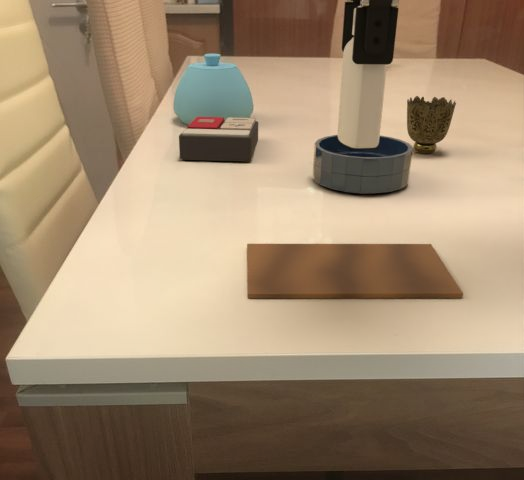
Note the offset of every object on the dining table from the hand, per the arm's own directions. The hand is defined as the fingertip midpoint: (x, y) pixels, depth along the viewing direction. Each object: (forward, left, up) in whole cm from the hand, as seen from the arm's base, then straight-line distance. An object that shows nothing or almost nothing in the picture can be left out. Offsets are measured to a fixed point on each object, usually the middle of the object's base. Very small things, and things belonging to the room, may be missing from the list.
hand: (365, 55), depth 54 cm
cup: (-19, -46, -20) cm, 54 cm away
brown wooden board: (0, 0, -20) cm, 20 cm away
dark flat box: (+14, -47, -20) cm, 53 cm away
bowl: (-6, -30, -20) cm, 37 cm away
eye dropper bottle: (0, 0, -7) cm, 7 cm away
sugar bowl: (+16, -68, -20) cm, 73 cm away
